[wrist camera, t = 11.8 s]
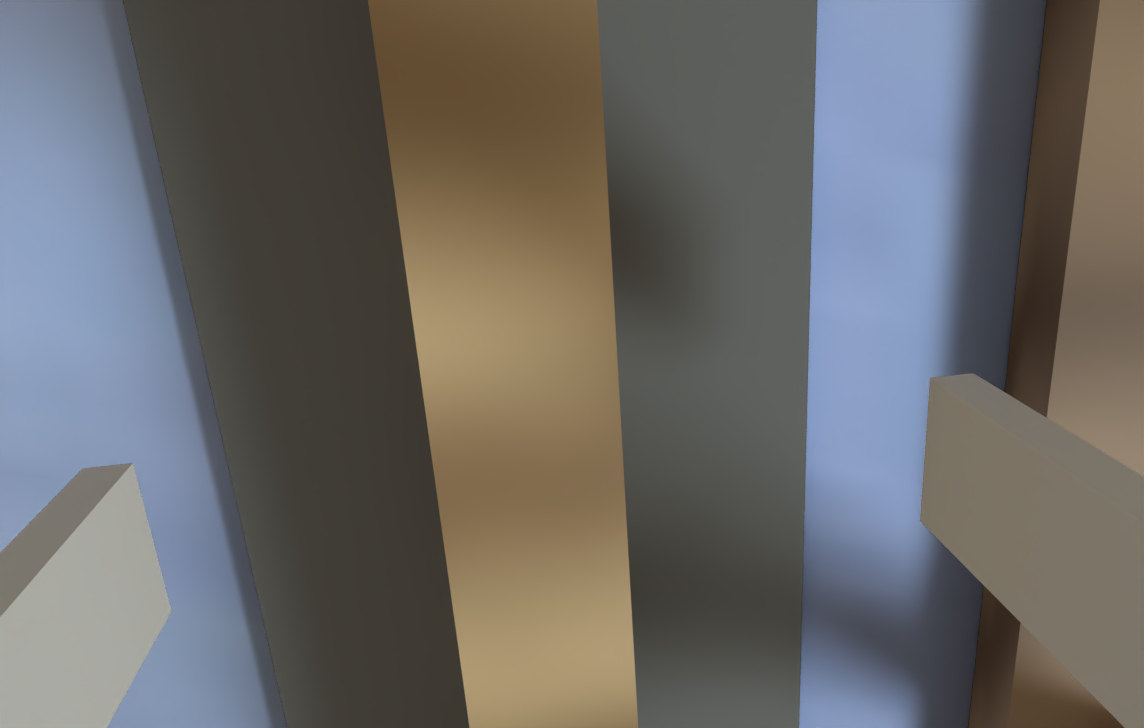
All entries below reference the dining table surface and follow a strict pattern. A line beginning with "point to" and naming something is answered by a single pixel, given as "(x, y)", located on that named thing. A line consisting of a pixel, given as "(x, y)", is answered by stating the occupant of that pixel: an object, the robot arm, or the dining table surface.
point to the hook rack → (1075, 310)
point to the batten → (516, 345)
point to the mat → (390, 362)
